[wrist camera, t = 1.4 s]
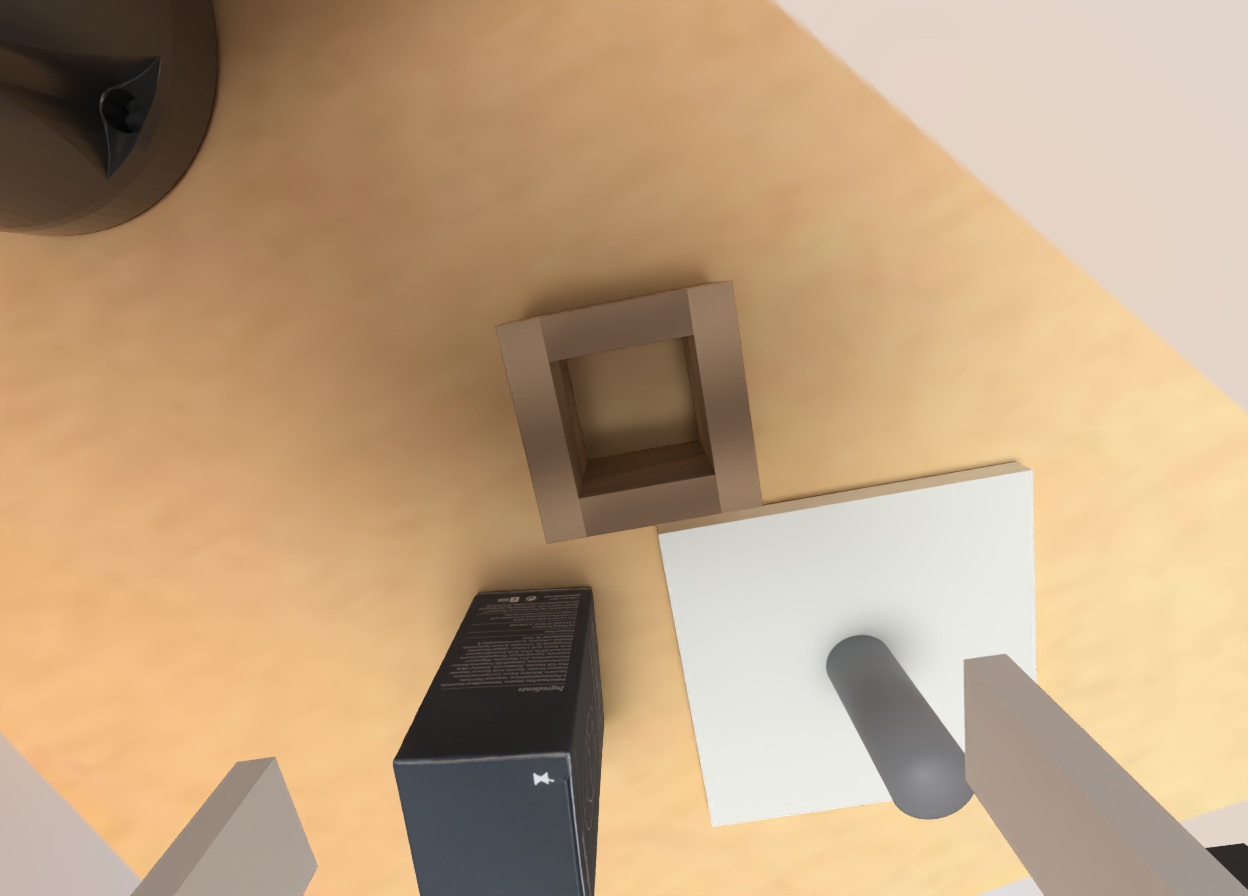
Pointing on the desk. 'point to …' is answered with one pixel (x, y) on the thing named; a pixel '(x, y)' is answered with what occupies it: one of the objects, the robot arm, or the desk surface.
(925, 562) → the thin white baseboard
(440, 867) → the box
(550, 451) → the collar
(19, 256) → the desk surface
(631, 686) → the desk surface
